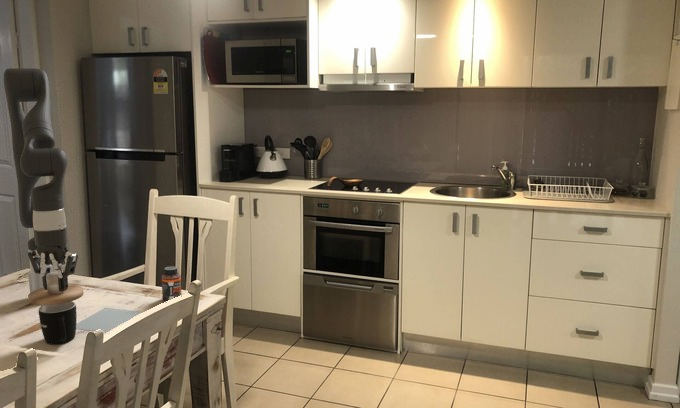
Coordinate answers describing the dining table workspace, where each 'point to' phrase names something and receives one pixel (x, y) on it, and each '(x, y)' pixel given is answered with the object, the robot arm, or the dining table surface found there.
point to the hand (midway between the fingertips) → (56, 289)
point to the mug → (58, 323)
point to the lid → (55, 292)
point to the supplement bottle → (171, 283)
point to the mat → (106, 319)
